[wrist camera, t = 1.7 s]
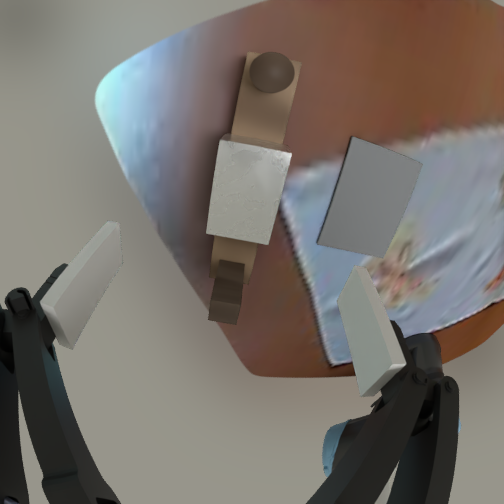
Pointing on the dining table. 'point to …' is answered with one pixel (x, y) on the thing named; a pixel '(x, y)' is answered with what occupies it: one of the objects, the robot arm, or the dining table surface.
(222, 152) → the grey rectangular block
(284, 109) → the plane body
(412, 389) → the robot arm
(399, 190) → the grey mat
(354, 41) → the dining table surface
